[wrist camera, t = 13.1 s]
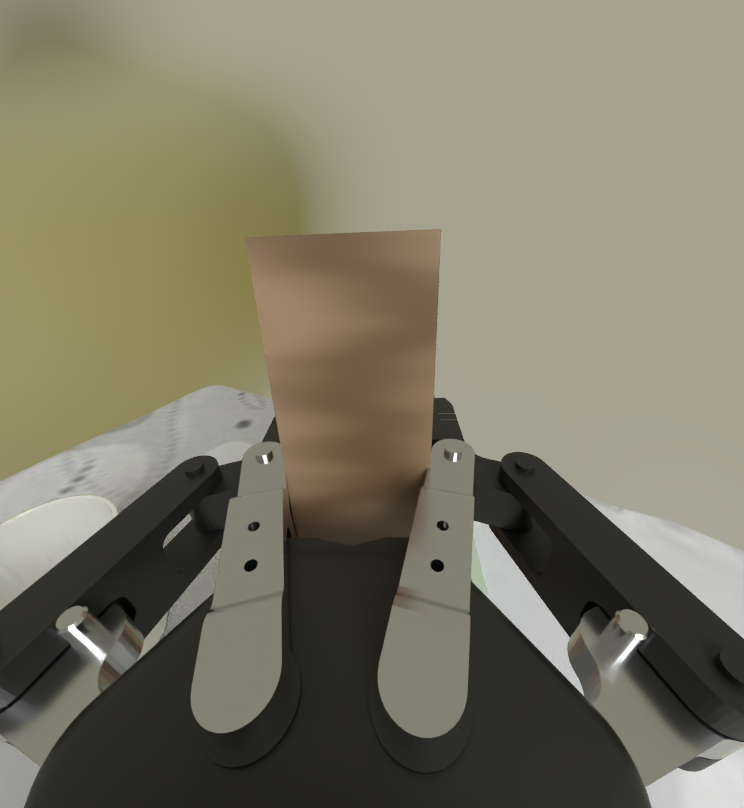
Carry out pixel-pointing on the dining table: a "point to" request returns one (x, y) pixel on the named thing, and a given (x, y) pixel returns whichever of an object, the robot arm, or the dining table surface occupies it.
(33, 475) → the dining table surface
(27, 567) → the white cup
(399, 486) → the tall wooden post
